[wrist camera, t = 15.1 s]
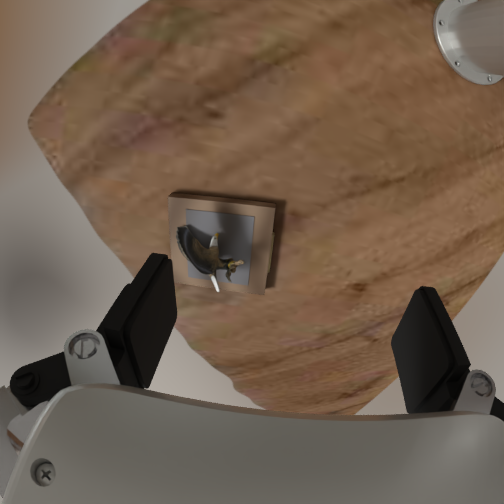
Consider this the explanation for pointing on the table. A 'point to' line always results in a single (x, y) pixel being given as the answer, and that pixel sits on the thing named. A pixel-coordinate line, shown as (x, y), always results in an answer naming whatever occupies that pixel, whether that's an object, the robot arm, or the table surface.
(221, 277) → the wooden picture frame
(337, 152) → the table surface
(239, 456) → the robot arm
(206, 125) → the table surface
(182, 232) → the eagle figurine
